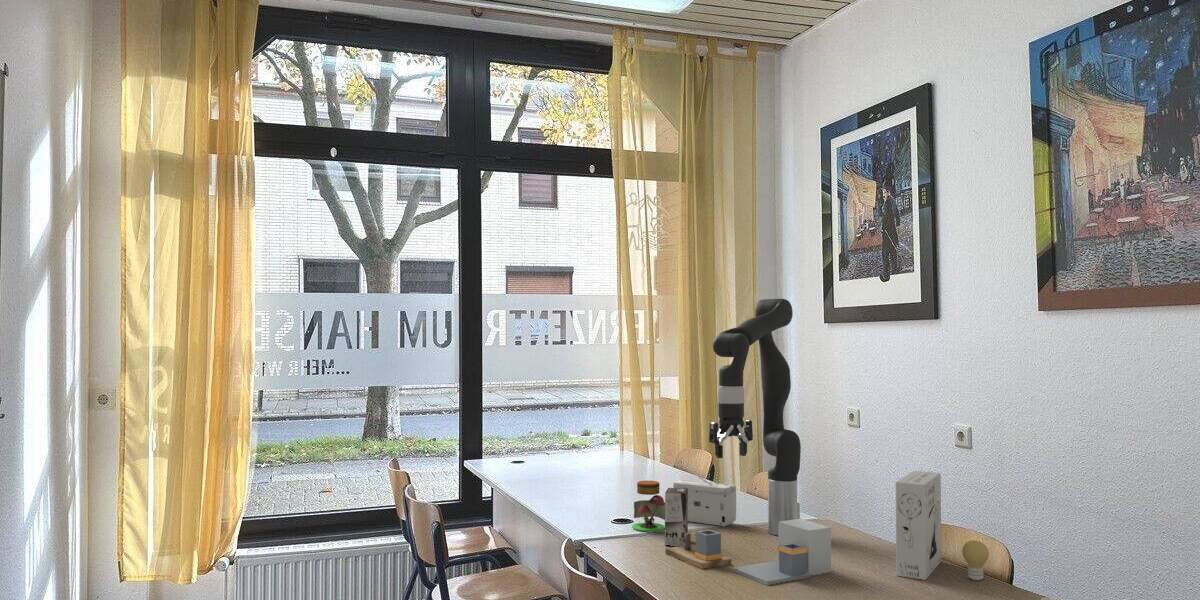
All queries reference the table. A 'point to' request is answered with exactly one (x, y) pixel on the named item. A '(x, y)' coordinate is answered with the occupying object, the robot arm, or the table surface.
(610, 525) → the table surface
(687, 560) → the pin board
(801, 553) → the sleeve
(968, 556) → the light bulb
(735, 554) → the table surface
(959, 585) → the table surface
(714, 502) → the stereo radio cassette player
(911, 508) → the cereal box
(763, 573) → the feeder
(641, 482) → the red mushroom
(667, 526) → the coffee box
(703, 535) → the sleeve
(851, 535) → the table surface
